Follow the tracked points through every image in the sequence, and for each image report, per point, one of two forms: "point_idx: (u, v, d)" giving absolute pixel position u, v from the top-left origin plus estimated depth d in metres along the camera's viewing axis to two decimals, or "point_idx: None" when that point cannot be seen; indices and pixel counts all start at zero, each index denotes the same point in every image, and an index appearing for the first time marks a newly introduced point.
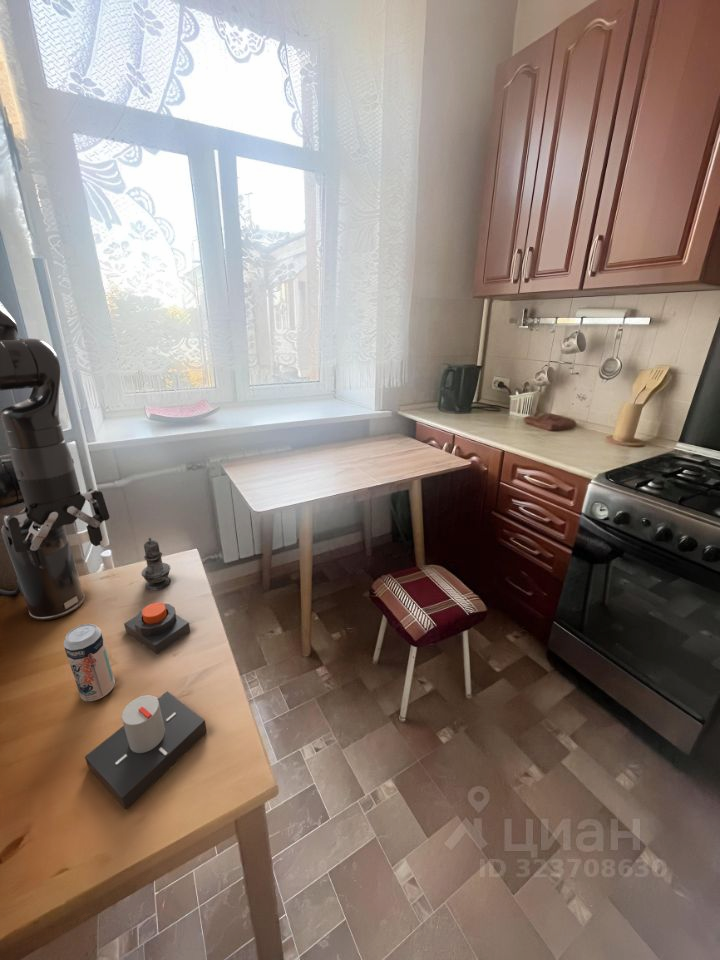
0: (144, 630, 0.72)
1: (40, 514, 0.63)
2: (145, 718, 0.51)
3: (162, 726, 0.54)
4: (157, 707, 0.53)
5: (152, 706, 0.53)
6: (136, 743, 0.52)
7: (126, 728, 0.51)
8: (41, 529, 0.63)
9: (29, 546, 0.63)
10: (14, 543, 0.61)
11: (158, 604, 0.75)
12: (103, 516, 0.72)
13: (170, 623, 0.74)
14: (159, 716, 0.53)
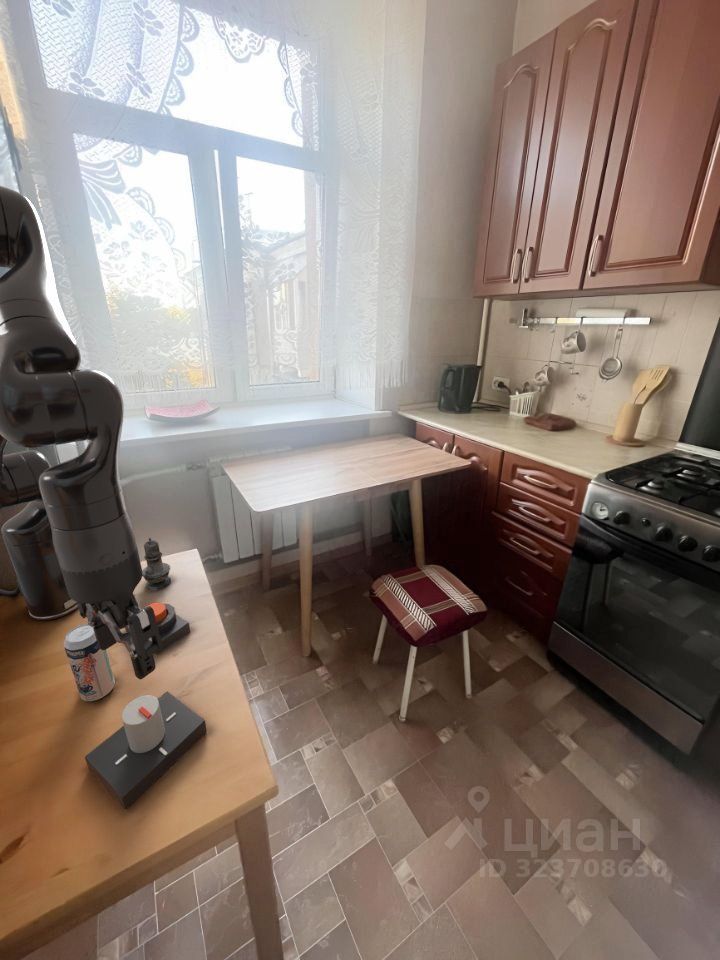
0: None
1: None
2: (145, 718, 0.51)
3: (162, 726, 0.54)
4: (157, 707, 0.53)
5: (152, 706, 0.53)
6: (136, 743, 0.52)
7: (126, 728, 0.51)
8: (87, 612, 0.48)
9: None
10: (78, 605, 0.51)
11: (158, 604, 0.75)
12: (137, 652, 0.45)
13: (170, 623, 0.74)
14: (159, 716, 0.53)
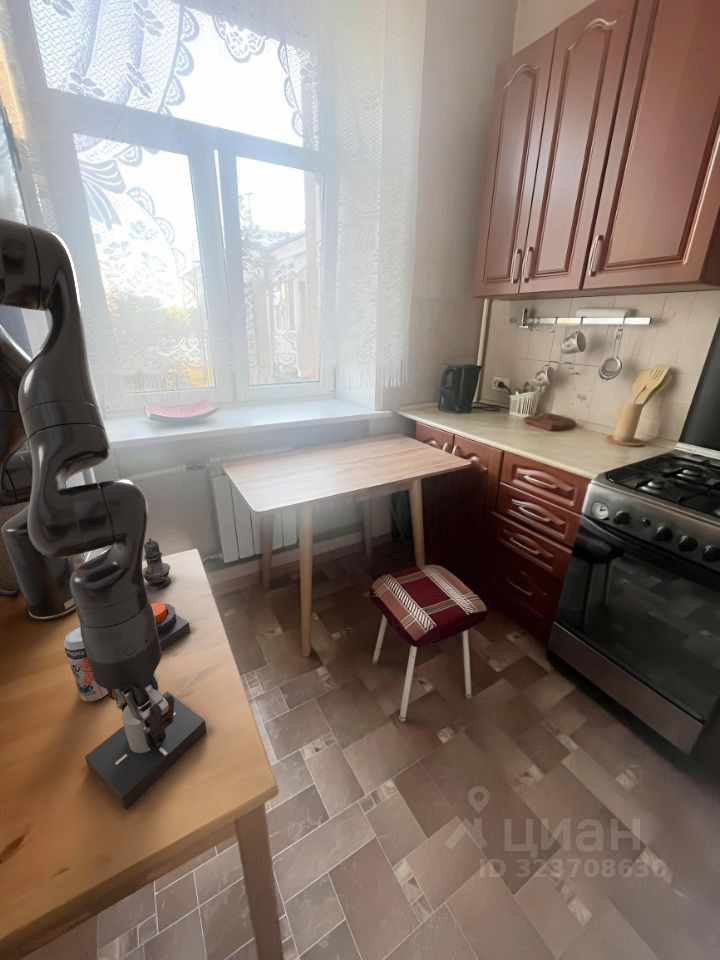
0: None
1: None
2: None
3: None
4: None
5: None
6: (136, 743, 0.52)
7: (126, 728, 0.51)
8: (113, 693, 0.51)
9: None
10: None
11: (158, 604, 0.75)
12: (150, 729, 0.49)
13: (170, 623, 0.74)
14: None
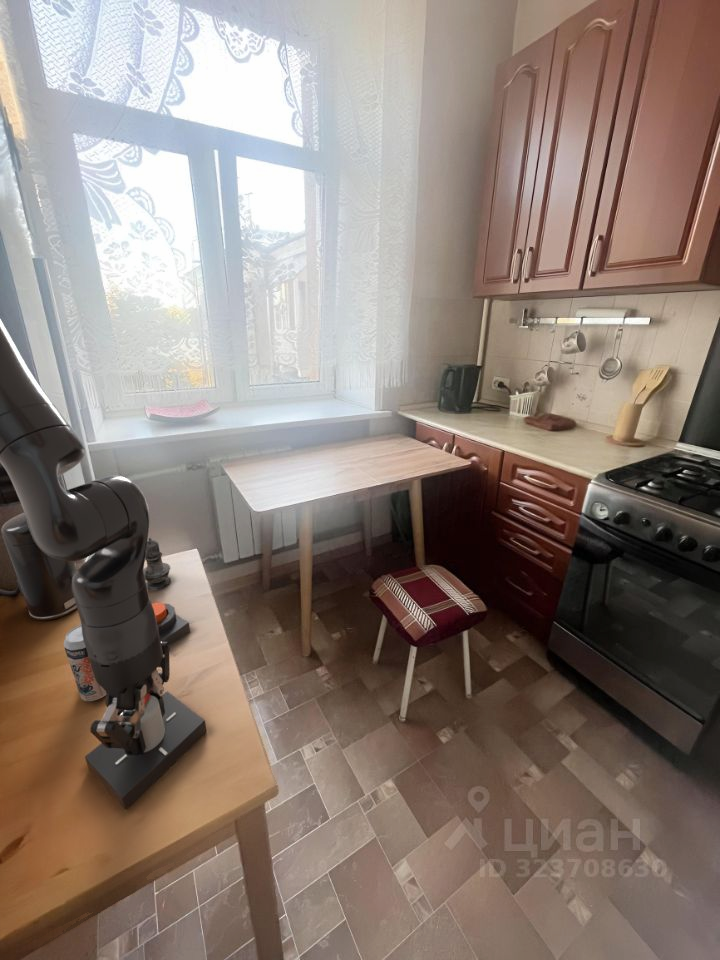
0: None
1: (129, 696, 0.48)
2: (150, 697, 0.54)
3: None
4: None
5: None
6: (162, 719, 0.55)
7: (158, 714, 0.53)
8: (138, 712, 0.49)
9: (133, 736, 0.49)
10: (123, 744, 0.47)
11: (158, 604, 0.75)
12: (165, 678, 0.56)
13: (170, 623, 0.74)
14: None
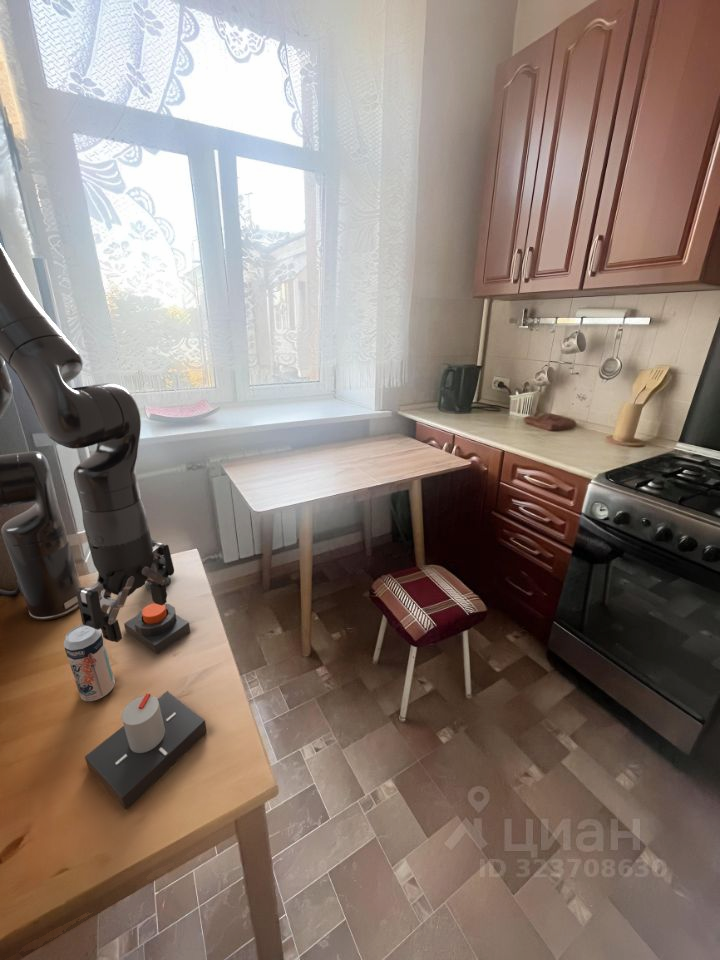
0: (144, 630, 0.72)
1: (117, 581, 0.55)
2: (150, 697, 0.54)
3: None
4: (136, 699, 0.54)
5: (135, 702, 0.53)
6: (162, 719, 0.55)
7: (158, 714, 0.53)
8: (119, 598, 0.55)
9: (107, 620, 0.55)
10: (94, 620, 0.53)
11: None
12: (169, 571, 0.64)
13: (170, 623, 0.74)
14: None
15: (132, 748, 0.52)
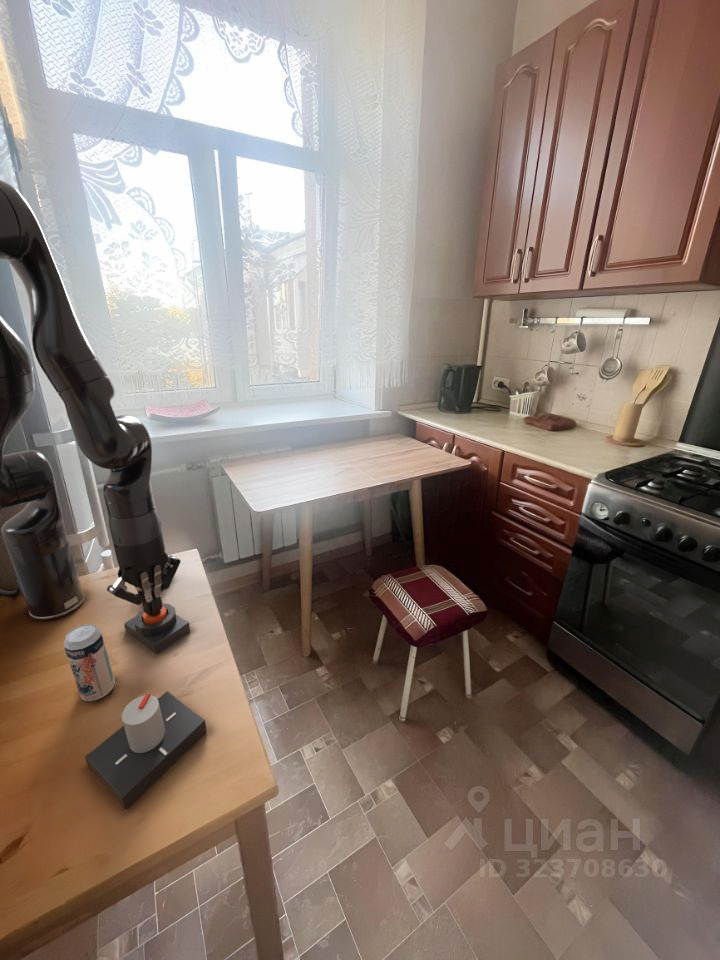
0: (144, 630, 0.72)
1: (132, 575, 0.68)
2: (150, 697, 0.54)
3: None
4: (136, 699, 0.54)
5: (135, 702, 0.53)
6: (162, 719, 0.55)
7: (158, 714, 0.53)
8: (143, 588, 0.69)
9: (145, 600, 0.71)
10: (132, 602, 0.69)
11: None
12: (164, 585, 0.73)
13: (170, 623, 0.74)
14: None
15: (132, 748, 0.52)
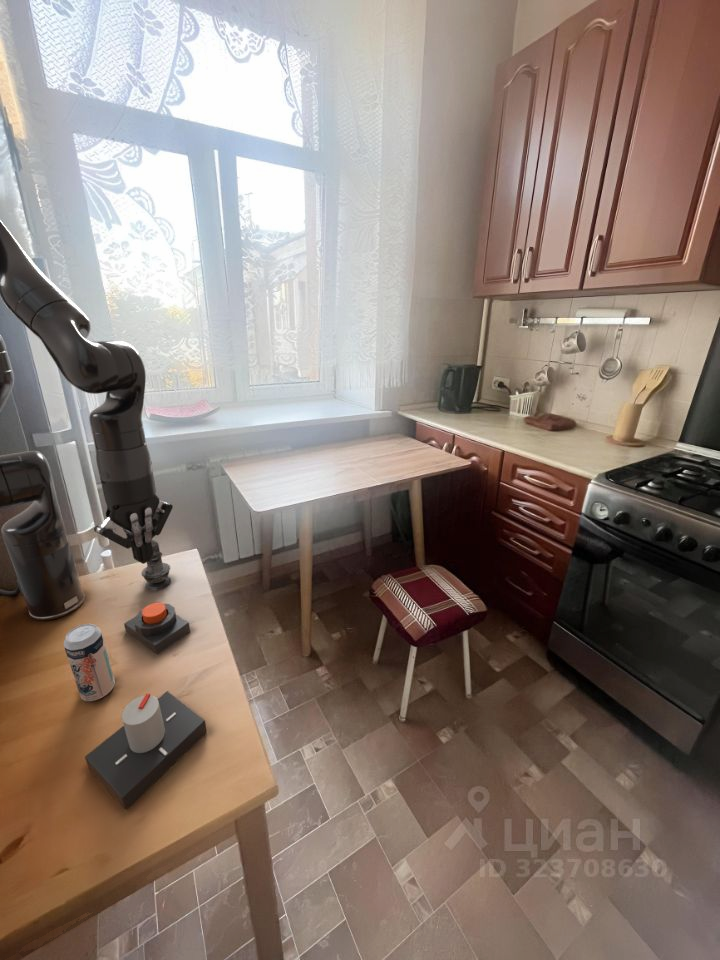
0: (144, 630, 0.72)
1: (121, 515, 0.64)
2: (150, 697, 0.54)
3: None
4: (136, 699, 0.54)
5: (135, 702, 0.53)
6: (162, 719, 0.55)
7: (158, 714, 0.53)
8: (133, 531, 0.66)
9: (135, 545, 0.67)
10: (121, 544, 0.65)
11: (158, 604, 0.75)
12: (155, 531, 0.70)
13: (170, 623, 0.74)
14: None
15: (132, 748, 0.52)
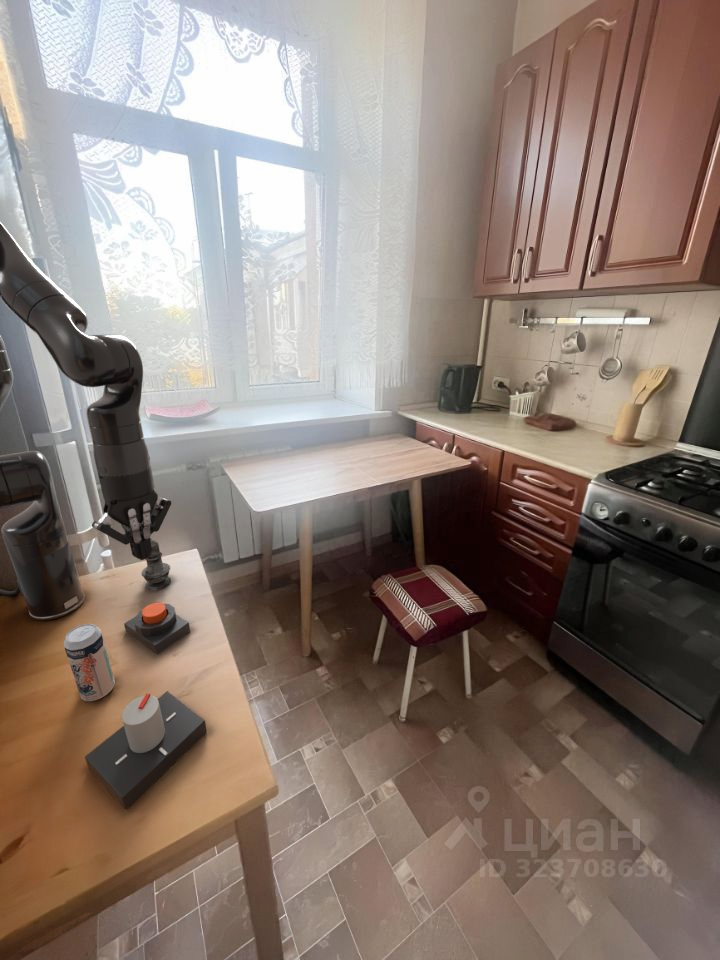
0: (144, 630, 0.72)
1: (119, 511, 0.63)
2: (150, 697, 0.54)
3: None
4: (136, 699, 0.54)
5: (135, 702, 0.53)
6: (162, 719, 0.55)
7: (158, 714, 0.53)
8: (131, 526, 0.65)
9: (133, 541, 0.67)
10: (119, 540, 0.64)
11: (158, 604, 0.75)
12: (154, 527, 0.69)
13: (170, 623, 0.74)
14: None
15: (132, 748, 0.52)
